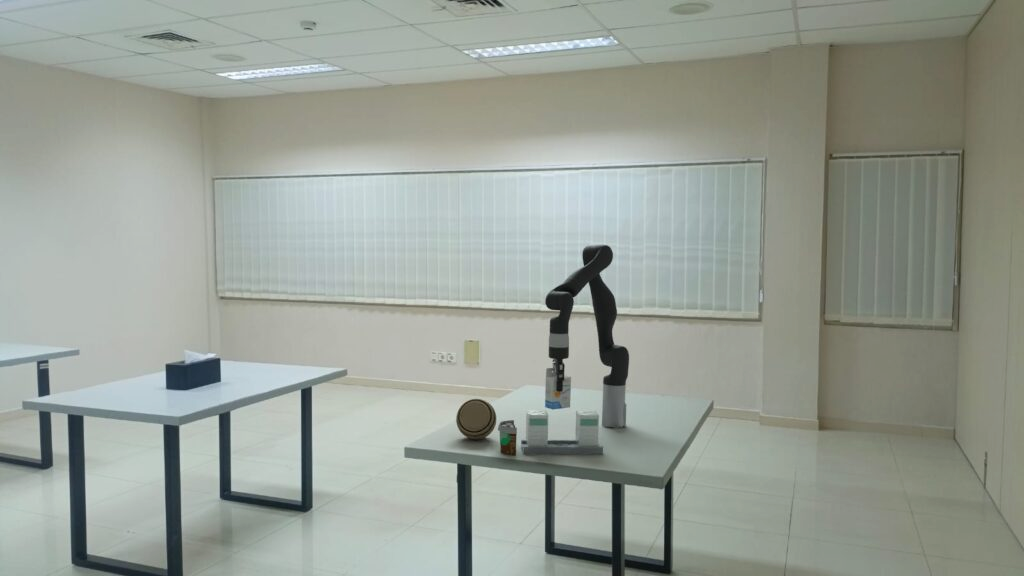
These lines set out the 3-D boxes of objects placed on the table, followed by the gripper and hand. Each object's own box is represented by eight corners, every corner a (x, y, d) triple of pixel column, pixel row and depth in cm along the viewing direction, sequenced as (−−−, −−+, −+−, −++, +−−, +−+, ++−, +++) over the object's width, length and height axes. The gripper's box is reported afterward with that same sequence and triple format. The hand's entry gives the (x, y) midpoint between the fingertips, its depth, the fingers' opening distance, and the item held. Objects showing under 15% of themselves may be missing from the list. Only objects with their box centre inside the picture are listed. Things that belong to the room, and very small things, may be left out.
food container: (496, 447, 265) (496, 419, 264) (513, 447, 265) (513, 419, 265) (498, 456, 252) (499, 427, 252) (516, 456, 253) (516, 428, 252)
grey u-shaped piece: (597, 446, 268) (598, 410, 268) (603, 454, 259) (604, 416, 258) (521, 446, 266) (521, 409, 266) (523, 454, 256) (524, 415, 256)
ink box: (552, 410, 270) (553, 370, 270) (544, 407, 275) (545, 368, 274) (570, 407, 275) (571, 368, 274) (562, 405, 279) (563, 366, 278)
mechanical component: (448, 437, 277) (449, 397, 277) (480, 432, 286) (481, 393, 286) (470, 446, 265) (471, 404, 265) (503, 440, 275) (504, 400, 274)
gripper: (571, 347, 267) (571, 393, 268) (565, 342, 281) (565, 385, 282) (551, 347, 266) (550, 393, 267) (546, 342, 280) (545, 385, 281)
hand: (558, 389), depth 274 cm, fingers closed on ink box, 6 cm apart
